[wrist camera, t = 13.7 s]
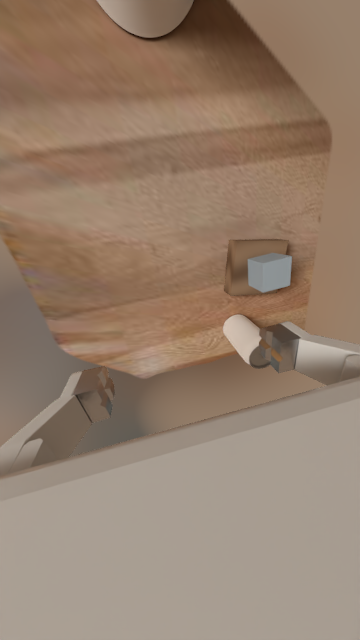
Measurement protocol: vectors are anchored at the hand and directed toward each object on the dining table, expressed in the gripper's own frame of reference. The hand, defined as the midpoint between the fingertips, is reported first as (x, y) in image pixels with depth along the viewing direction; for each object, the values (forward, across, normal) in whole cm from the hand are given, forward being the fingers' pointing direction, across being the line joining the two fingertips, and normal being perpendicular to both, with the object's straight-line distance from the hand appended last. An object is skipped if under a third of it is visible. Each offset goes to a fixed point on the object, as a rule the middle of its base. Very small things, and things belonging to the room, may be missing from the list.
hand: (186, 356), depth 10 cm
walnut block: (+30, -19, +4) cm, 35 cm away
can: (+29, -15, +18) cm, 37 cm away
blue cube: (+26, -19, +4) cm, 32 cm away
